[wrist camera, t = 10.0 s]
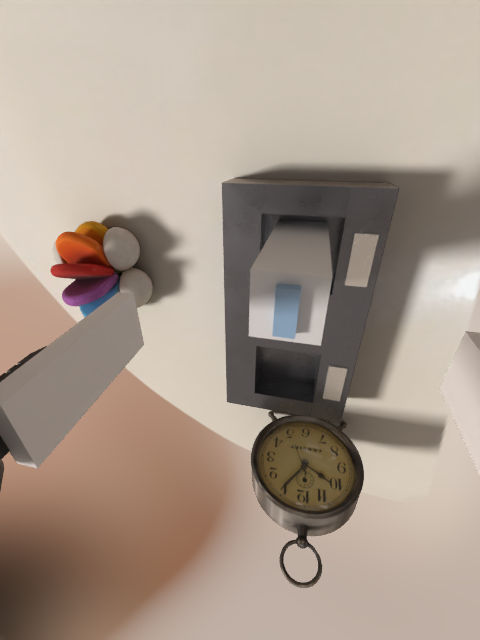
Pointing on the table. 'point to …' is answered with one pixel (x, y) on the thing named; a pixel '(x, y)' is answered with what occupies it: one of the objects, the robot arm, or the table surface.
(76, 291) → the rainbow petal toy
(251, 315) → the plug
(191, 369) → the table surface
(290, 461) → the alarm clock
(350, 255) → the panel
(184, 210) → the table surface
